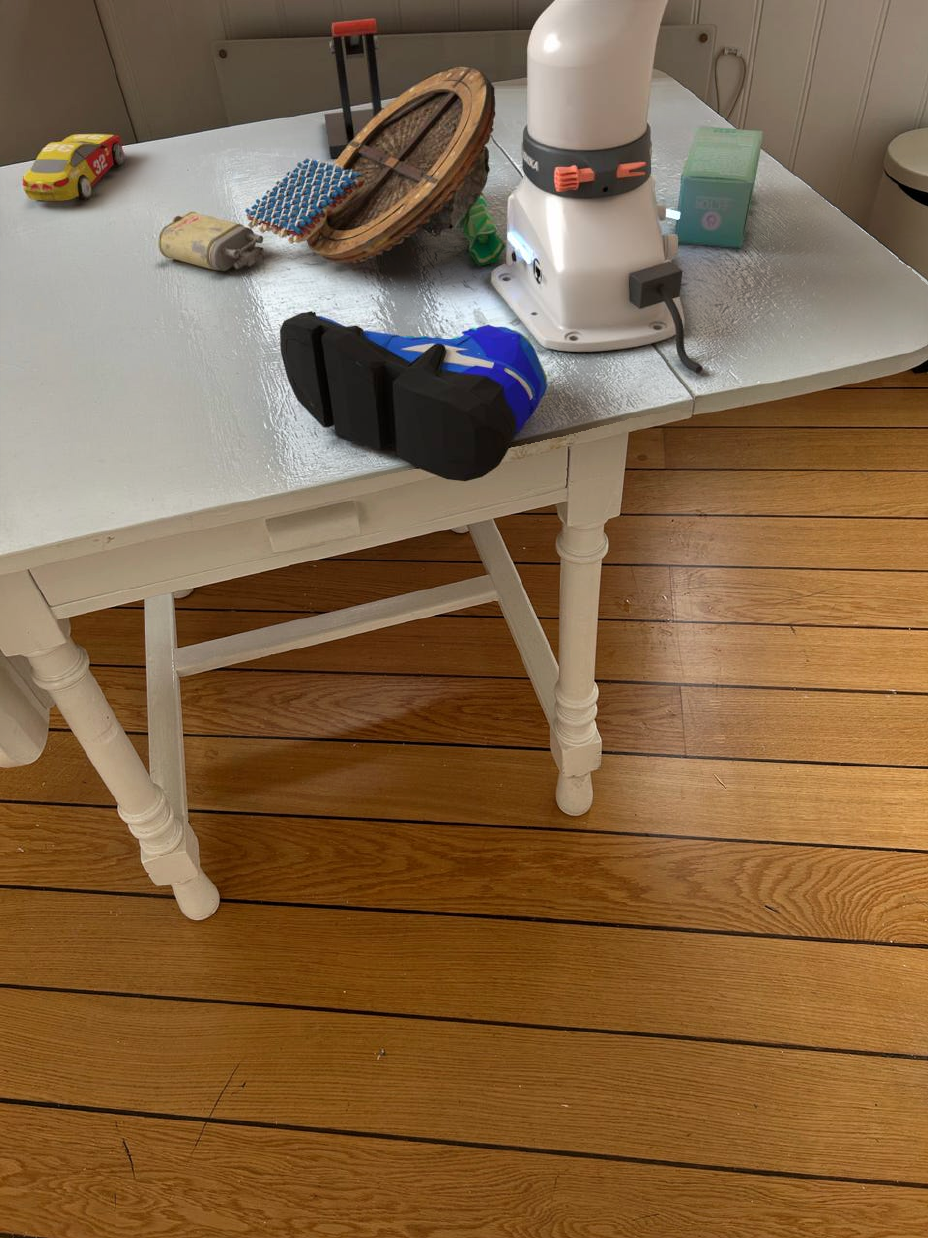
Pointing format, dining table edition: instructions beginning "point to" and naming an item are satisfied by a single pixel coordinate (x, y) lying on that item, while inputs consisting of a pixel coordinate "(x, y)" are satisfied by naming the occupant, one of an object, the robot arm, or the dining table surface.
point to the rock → (460, 199)
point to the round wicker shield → (409, 163)
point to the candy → (482, 234)
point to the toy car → (72, 167)
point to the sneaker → (417, 390)
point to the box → (718, 186)
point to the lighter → (209, 242)
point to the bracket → (349, 122)
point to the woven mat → (304, 200)
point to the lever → (354, 35)
